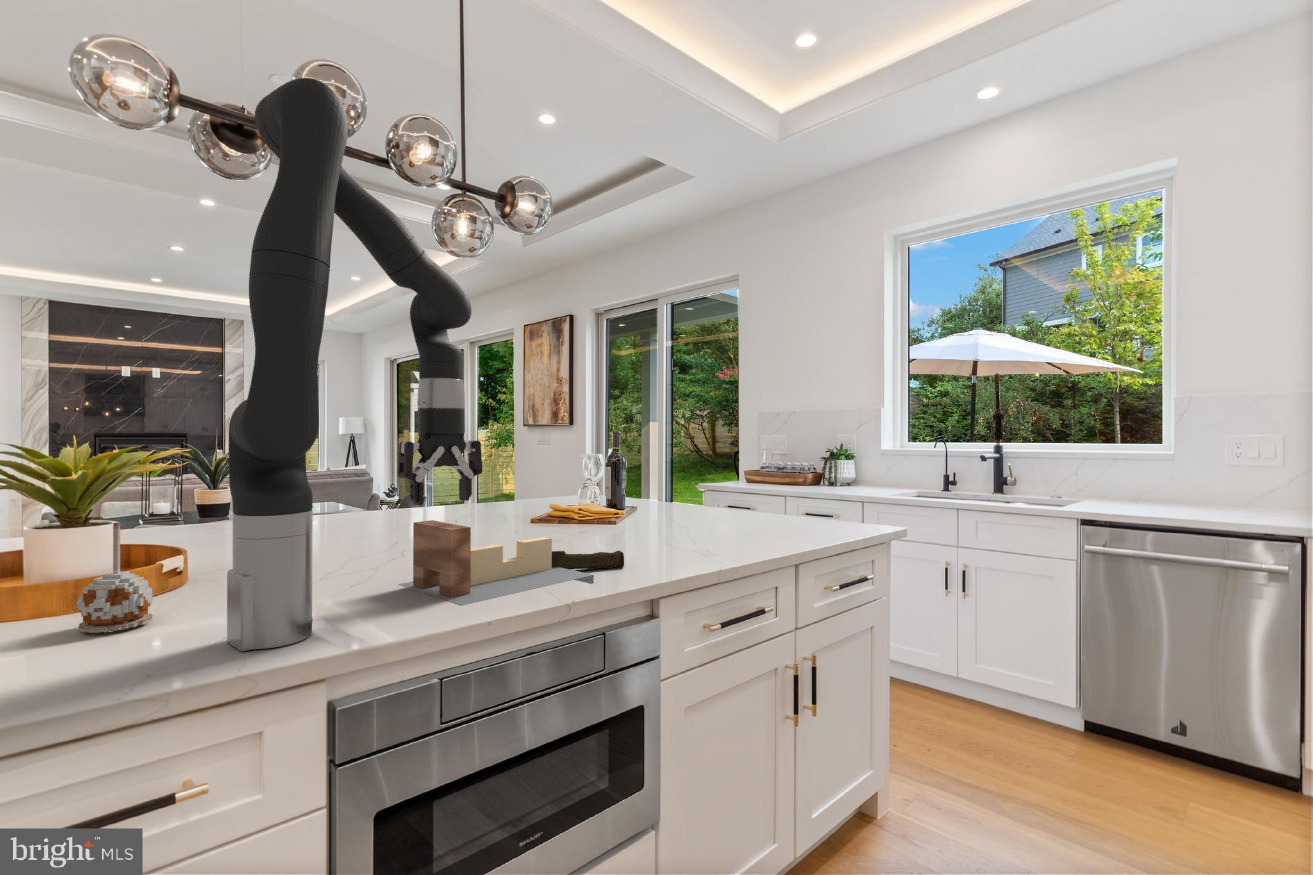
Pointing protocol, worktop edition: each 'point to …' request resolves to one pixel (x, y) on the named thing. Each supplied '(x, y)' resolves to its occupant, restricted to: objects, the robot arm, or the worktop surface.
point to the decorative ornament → (115, 598)
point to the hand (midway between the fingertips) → (442, 502)
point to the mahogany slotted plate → (442, 557)
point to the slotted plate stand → (509, 572)
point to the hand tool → (587, 560)
